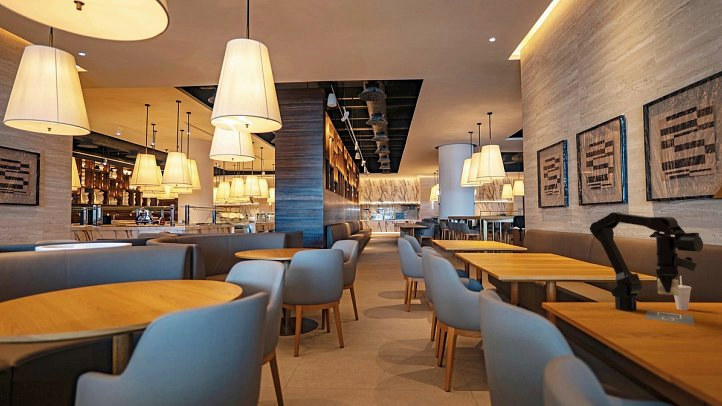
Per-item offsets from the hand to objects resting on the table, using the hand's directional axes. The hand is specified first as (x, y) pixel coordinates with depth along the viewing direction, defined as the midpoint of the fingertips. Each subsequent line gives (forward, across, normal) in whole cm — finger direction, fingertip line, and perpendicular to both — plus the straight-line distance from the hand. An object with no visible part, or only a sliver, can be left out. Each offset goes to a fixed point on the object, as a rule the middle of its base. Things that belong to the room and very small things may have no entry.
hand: (668, 291), depth 140 cm
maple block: (+1, 0, 0) cm, 1 cm away
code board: (+11, +3, 0) cm, 12 cm away
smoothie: (+11, +26, -4) cm, 29 cm away
